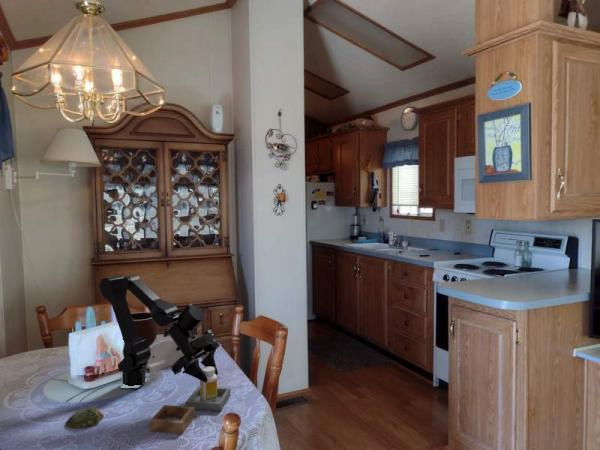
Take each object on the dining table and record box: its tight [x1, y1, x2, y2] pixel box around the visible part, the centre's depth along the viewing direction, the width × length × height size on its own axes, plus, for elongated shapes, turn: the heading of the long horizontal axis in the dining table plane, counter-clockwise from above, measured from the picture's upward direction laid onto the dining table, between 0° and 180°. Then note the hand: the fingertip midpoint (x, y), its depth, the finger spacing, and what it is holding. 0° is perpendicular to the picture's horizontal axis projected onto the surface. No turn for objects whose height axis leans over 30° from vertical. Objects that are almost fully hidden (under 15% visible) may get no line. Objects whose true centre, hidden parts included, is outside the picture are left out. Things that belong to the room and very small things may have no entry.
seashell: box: [65, 407, 105, 430], centre depth 124 cm, size 10×4×10 cm
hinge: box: [144, 339, 184, 373], centre depth 168 cm, size 17×5×10 cm, turn 139°
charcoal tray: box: [185, 385, 231, 413], centre depth 136 cm, size 11×11×2 cm
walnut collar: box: [149, 404, 196, 435], centre depth 122 cm, size 9×9×3 cm
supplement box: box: [190, 320, 203, 337], centre depth 178 cm, size 9×5×16 cm, turn 179°
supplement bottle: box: [199, 366, 218, 402], centre depth 135 cm, size 5×5×10 cm
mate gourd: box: [131, 311, 159, 346], centre depth 173 cm, size 16×14×20 cm
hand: (212, 378), depth 135 cm, fingers closed on supplement bottle, 5 cm apart
